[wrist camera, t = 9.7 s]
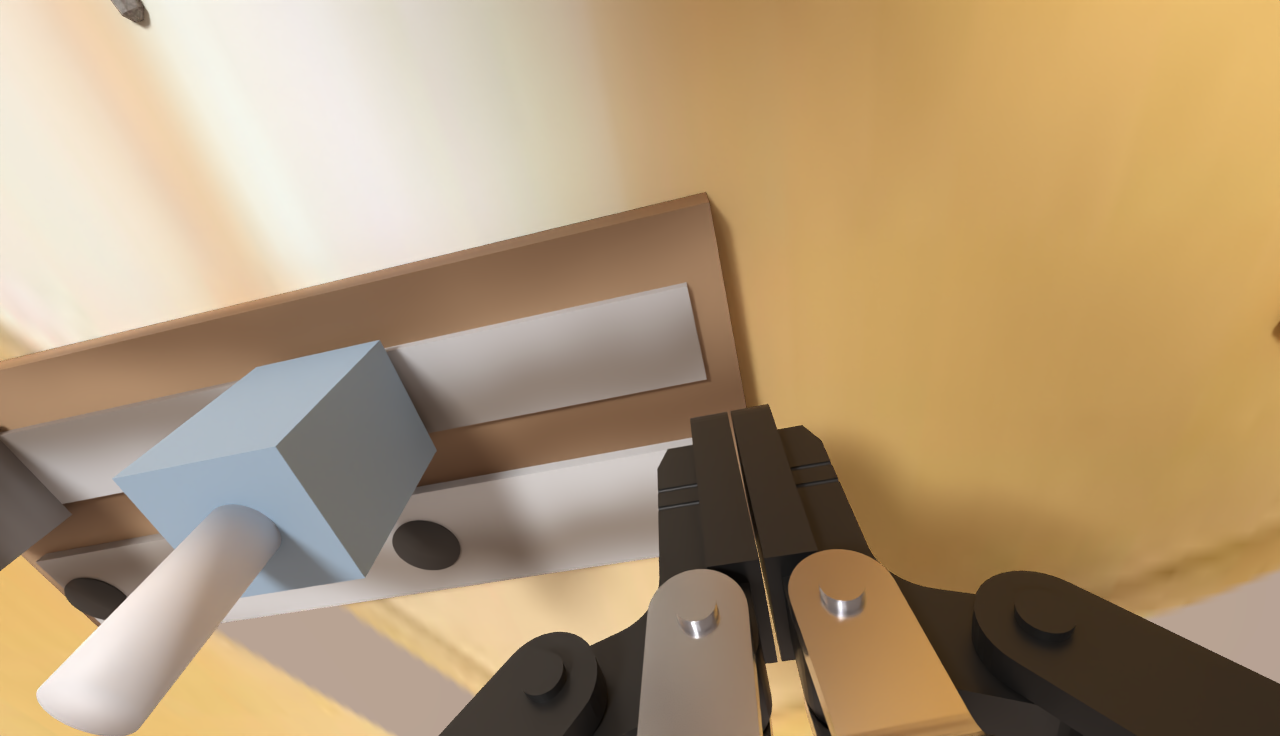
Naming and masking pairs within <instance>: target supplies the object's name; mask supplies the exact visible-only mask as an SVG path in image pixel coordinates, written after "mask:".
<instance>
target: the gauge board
mask: <svg viewBox="0 0 1280 736" xmlns="http://www.w3.org/2000/svg"><path fill="white" fill-rule="evenodd" d="M377 340H380V341H381V343H382V345H383V347H384V349H385V351H386V353H387V355H388V356H389V358H390V360H391V362H392V364H393V366H394V368H395V370H396V372H397V374H398V376H399V378H400V380H401V382H402V384H403V386H404V388H405V389H406V391H407V393H408V395H409V397H410V399H411V401H412V403H413V405H414V407H415V409H416V411H417V413H418V415H419V417H420V419H421V421H422V423H423V424H424V426H425V428H426V430H427V432H428V434H429V436H430V438H431V440H432V442H433V444H434V446H435V448H436V450H437V451H436V453H435V454H434V456H433V458H432V460H431V462H430V463H429V465H428V467H427V469H426V471H425V472H424V474H423V476H422V478H421V479H420V481H419V483H418V485H417V487H416V488H415V490H414V492H413V494H412V495H411V497H410V499H409V501H408V503H407V504H406V506H405V508H404V510H403V512H402V513H401V515H400V517H399V519H398V520H397V522H396V524H395V526H394V528H393V529H392V531H391V533H390V535H389V537H388V538H387V540H386V542H385V544H384V545H383V547H382V549H381V551H380V553H379V554H378V556H377V558H376V560H375V561H374V563H373V565H372V567H371V569H370V570H369V572H368V574H367V576H366V578H363V579H357V580H350V581H344V582H338V583H331V584H325V585H319V586H312V587H306V588H300V589H293V590H287V591H281V592H274V593H268V594H262V595H255V596H249V597H243V598H239V600H238V601H237V602H236V604H235V605H234V606H233V607H232V609H231V610H230V611H229V613H228V614H227V615H226V617H225V618H224V619H223V620H222V622H221V623H225V622H232V621H238V620H245V619H252V618H258V617H264V616H271V615H278V614H284V613H292V612H298V611H305V610H311V609H318V608H325V607H331V606H338V605H344V604H351V603H358V602H364V601H371V600H377V599H384V598H391V597H397V596H404V595H410V594H417V593H424V592H430V591H437V590H443V589H450V588H457V587H463V586H470V585H476V584H483V583H490V582H496V581H503V580H509V579H516V578H523V577H529V576H536V575H542V574H549V573H556V572H562V571H569V570H575V569H582V568H589V567H595V566H602V565H608V564H615V563H622V562H628V561H635V560H641V559H648V558H655V557H659V528H658V511H659V509H658V479H657V468H658V466H659V465H660V463H661V461H662V459H663V457H664V455H665V453H666V451H667V449H671V448H676V447H682V446H688V445H693V442H692V433H691V424H690V418H695V417H700V416H706V415H711V414H717V413H722V412H727V413H728V418H729V423H730V427H731V432H732V436H733V441H734V446H735V450H736V455H737V460H738V464H739V469H740V473H741V467H740V462H739V456H738V451H737V446H736V440H735V435H734V429H733V424H732V418H731V412H730V411H733V410H738V409H744V408H746V403H745V398H744V392H743V386H742V381H741V375H740V370H739V364H738V359H737V353H736V348H735V342H734V337H733V331H732V325H731V320H730V314H729V309H728V303H727V298H726V292H725V287H724V281H723V276H722V270H721V264H720V259H719V253H718V248H717V242H716V237H715V231H714V226H713V220H712V214H711V209H710V203H709V200H708V197H707V194H706V192H704V193H700V194H696V195H692V196H688V197H684V198H679V199H675V200H671V201H667V202H663V203H659V204H654V205H650V206H646V207H642V208H638V209H634V210H629V211H625V212H621V213H617V214H613V215H609V216H604V217H600V218H596V219H592V220H588V221H584V222H579V223H575V224H571V225H567V226H563V227H559V228H554V229H550V230H546V231H542V232H538V233H534V234H529V235H525V236H521V237H517V238H513V239H508V240H504V241H500V242H496V243H492V244H488V245H483V246H479V247H475V248H471V249H467V250H463V251H458V252H454V253H450V254H446V255H442V256H438V257H433V258H429V259H425V260H421V261H417V262H413V263H408V264H404V265H400V266H396V267H392V268H388V269H383V270H379V271H375V272H371V273H367V274H363V275H358V276H354V277H350V278H346V279H342V280H338V281H333V282H329V283H325V284H321V285H317V286H313V287H308V288H304V289H300V290H296V291H292V292H287V293H283V294H279V295H275V296H271V297H267V298H262V299H258V300H254V301H250V302H246V303H242V304H237V305H233V306H229V307H225V308H221V309H217V310H212V311H208V312H204V313H200V314H196V315H192V316H187V317H183V318H179V319H175V320H171V321H167V322H162V323H158V324H154V325H150V326H146V327H142V328H137V329H133V330H129V331H125V332H121V333H117V334H112V335H108V336H104V337H100V338H96V339H92V340H87V341H83V342H79V343H75V344H71V345H67V346H62V347H58V348H54V349H50V350H46V351H41V352H37V353H33V354H29V355H25V356H21V357H16V358H12V359H8V360H4V361H0V571H1V570H2V569H3V568H5V567H6V566H7V565H8V564H10V563H11V562H12V561H13V560H15V559H16V558H17V557H19V556H20V555H22V556H23V557H24V558H25V559H26V560H27V561H28V562H29V563H30V564H31V565H32V566H33V567H35V568H36V569H37V570H38V571H39V572H40V573H41V574H42V575H43V576H44V577H45V578H46V579H47V580H48V581H50V582H51V583H52V584H53V585H54V586H55V587H56V588H57V589H58V590H59V591H60V592H61V593H62V594H63V595H65V596H66V598H67V600H68V601H69V602H70V603H71V604H72V605H73V606H74V607H75V608H77V609H78V610H80V611H81V612H83V613H84V614H85V615H86V616H87V617H88V618H89V619H90V620H91V621H92V622H93V623H94V624H96V625H97V626H98V627H99V626H100V625H101V624H102V623H103V622H104V621H105V620H106V619H107V618H108V617H109V616H110V615H111V614H112V613H113V612H114V611H115V610H116V609H117V608H118V607H119V606H120V605H121V604H122V603H123V602H124V601H125V600H126V599H127V597H128V596H129V595H130V594H131V593H132V592H133V591H134V590H135V589H136V588H137V587H138V586H139V585H140V584H141V583H142V582H143V581H144V580H145V579H146V578H147V577H148V576H149V575H150V574H151V573H152V572H153V571H154V570H155V569H156V568H157V567H158V566H159V565H160V564H161V563H162V562H163V561H164V560H165V559H166V558H167V557H168V556H169V555H170V554H171V553H172V552H173V551H174V548H173V547H172V546H171V545H170V544H169V543H168V542H167V541H166V539H165V538H164V537H163V536H162V535H161V534H160V533H159V532H158V530H157V529H156V528H155V527H154V526H153V525H152V524H151V522H150V521H149V520H148V519H147V518H146V517H145V516H144V515H143V513H142V512H141V511H140V510H139V509H138V508H137V507H136V505H135V504H134V503H133V502H132V501H131V500H130V499H129V498H128V496H127V495H126V494H125V493H124V492H123V491H122V490H121V488H120V487H119V486H118V485H117V484H116V483H115V482H114V481H113V479H112V478H114V477H115V476H116V475H117V474H119V473H120V472H121V471H123V470H124V469H125V468H127V467H128V466H129V465H130V464H132V463H133V462H134V461H136V460H137V459H138V458H139V457H141V456H142V455H143V454H145V453H146V452H147V451H149V450H150V449H151V448H152V447H154V446H155V445H156V444H158V443H159V442H160V441H161V440H163V439H164V438H165V437H167V436H168V435H169V434H171V433H172V432H173V431H174V430H176V429H177V428H178V427H180V426H181V425H182V424H183V423H185V422H186V421H187V420H189V419H190V418H191V417H193V416H194V415H195V414H196V413H198V412H199V411H200V410H202V409H203V408H204V407H205V406H207V405H208V404H209V403H211V402H212V401H213V400H215V399H216V398H217V397H218V396H220V395H221V394H222V393H224V392H225V391H226V390H227V389H229V388H230V387H231V386H233V385H234V384H235V383H236V382H238V381H239V380H240V379H242V378H243V377H244V376H246V375H247V374H248V373H249V372H251V371H252V370H253V369H255V368H256V367H259V366H264V365H268V364H273V363H277V362H282V361H286V360H291V359H295V358H300V357H304V356H309V355H314V354H318V353H323V352H327V351H332V350H336V349H341V348H345V347H350V346H354V345H359V344H363V343H368V342H372V341H377ZM741 478H742V473H741ZM742 483H743V478H742ZM743 487H744V483H743ZM744 492H745V488H744ZM745 497H746V493H745ZM746 501H747V498H746ZM747 506H748V503H747ZM748 510H749V508H748ZM749 515H750V512H749ZM750 520H751V517H750ZM751 524H752V521H751ZM752 529H753V526H752ZM753 534H754V531H753ZM754 538H755V535H754Z"/></svg>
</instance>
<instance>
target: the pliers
mask: <svg viewBox="0 0 1280 736" xmlns="http://www.w3.org/2000/svg"><path fill="white" fill-rule="evenodd" d="M111 1H112V3H113V4H114V5H115V7H116V8H117V9H118V11H119V12H120V13H121V14H122V16H124V17H126V18H128V19H130V20H132V21H135V22H139V21H141V20H143V19H144V7H143V5H142V4H141V2H140V0H111Z"/></svg>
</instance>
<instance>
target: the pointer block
mask: <svg viewBox="0 0 1280 736" xmlns="http://www.w3.org/2000/svg"><path fill="white" fill-rule="evenodd" d="M436 451H437V450H436V448H435V446H434V444H433V442H432V440H431V438H430V436H429V434H428V432H427V430H426V428H425V426H424V424H423V423H422V421H421V419H420V417H419V415H418V413H417V411H416V409H415V407H414V405H413V403H412V401H411V399H410V397H409V395H408V393H407V391H406V389H405V388H404V386H403V384H402V382H401V380H400V378H399V376H398V374H397V372H396V370H395V368H394V366H393V364H392V362H391V360H390V358H389V356H388V355H387V353H386V351H385V349H384V347H383V345H382V343H381V341H380V340H377V341H372V342H368V343H363V344H359V345H354V346H350V347H345V348H341V349H336V350H332V351H327V352H323V353H318V354H314V355H309V356H304V357H300V358H295V359H291V360H286V361H282V362H277V363H273V364H268V365H264V366H259V367H256V368H255V369H253V370H252V371H251V372H249V373H248V374H247V375H246V376H244V377H243V378H242V379H240V380H239V381H238V382H236V383H235V384H234V385H233V386H231V387H230V388H229V389H227V390H226V391H225V392H224V393H222V394H221V395H220V396H218V397H217V398H216V399H215V400H213V401H212V402H211V403H209V404H208V405H207V406H205V407H204V408H203V409H202V410H200V411H199V412H198V413H196V414H195V415H194V416H193V417H191V418H190V419H189V420H187V421H186V422H185V423H183V424H182V425H181V426H180V427H178V428H177V429H176V430H174V431H173V432H172V433H171V434H169V435H168V436H167V437H165V438H164V439H163V440H161V441H160V442H159V443H158V444H156V445H155V446H154V447H152V448H151V449H150V450H149V451H147V452H146V453H145V454H143V455H142V456H141V457H139V458H138V459H137V460H136V461H134V462H133V463H132V464H130V465H129V466H128V467H127V468H125V469H124V470H123V471H121V472H120V473H119V474H117V475H116V476H115V477H114V478H112V479H113V481H114V482H115V483H116V484H117V485H118V486H119V487H120V488H121V490H122V491H123V492H124V493H125V494H126V495H127V496H128V498H129V499H130V500H131V501H132V502H133V503H134V504H135V505H136V507H137V508H138V509H139V510H140V511H141V512H142V513H143V515H144V516H145V517H146V518H147V519H148V520H149V521H150V522H151V524H152V525H153V526H154V527H155V528H156V529H157V530H158V532H159V533H160V534H161V535H162V536H163V537H164V538H165V539H166V541H167V542H168V543H169V544H170V545H171V546H172V547H173V548H174V551H173V552H172V553H171V554H170V555H169V556H168V557H167V558H166V559H165V560H164V561H163V562H162V563H161V564H160V565H159V566H158V567H157V568H156V569H155V570H154V571H153V572H152V573H151V574H150V575H149V576H148V577H147V578H146V579H145V580H144V581H143V582H142V583H141V584H140V585H139V586H138V587H137V588H136V589H135V590H134V591H133V592H132V593H131V594H130V595H129V596H128V597H127V599H126V600H125V601H124V602H123V603H122V604H121V605H120V606H119V607H118V608H117V609H116V610H115V611H114V612H113V613H112V614H111V615H110V616H109V617H108V618H107V619H106V620H105V621H104V622H103V623H102V624H101V625H100V626H99V627H98V628H97V629H96V630H95V631H94V632H93V633H92V634H91V635H90V636H89V637H88V638H87V639H86V640H85V641H84V642H83V643H82V644H81V645H80V646H79V647H78V648H77V650H76V651H75V652H74V653H73V654H72V655H71V656H70V657H69V658H68V659H67V660H66V661H65V662H64V663H63V664H62V665H61V666H60V667H59V668H58V669H57V670H56V671H55V672H54V673H53V674H52V675H51V676H50V677H49V678H48V679H47V680H46V681H45V682H44V683H43V684H42V685H41V686H40V687H39V689H38V690H37V700H38V702H39V704H40V705H41V707H42V708H43V709H44V710H45V711H46V712H47V713H48V714H50V715H51V716H52V717H54V718H55V719H57V720H59V721H60V722H62V723H64V724H66V725H68V726H70V727H73V728H75V729H78V730H81V731H84V732H87V733H91V734H96V735H102V736H124V735H129V734H132V733H134V732H136V731H137V730H138V729H139V728H140V727H141V725H142V724H143V723H144V721H145V720H146V719H147V718H148V716H149V715H150V714H151V712H152V711H153V710H154V709H155V707H156V706H157V705H158V703H159V702H160V701H161V699H162V698H163V697H164V696H165V694H166V693H167V692H168V690H169V689H170V688H171V686H172V685H173V684H174V683H175V681H176V680H177V679H178V677H179V676H180V675H181V674H182V672H183V671H184V670H185V668H186V667H187V666H188V664H189V663H190V662H191V661H192V659H193V658H194V657H195V655H196V654H197V653H198V652H199V650H200V649H201V648H202V646H203V645H204V644H205V642H206V641H207V640H208V639H209V637H210V636H211V635H212V633H213V632H214V631H215V629H216V628H217V627H218V626H219V624H220V623H221V622H222V620H223V619H224V618H225V617H226V615H227V614H228V613H229V611H230V610H231V609H232V607H233V606H234V605H235V604H236V602H237V601H238V600H239V598H243V597H249V596H255V595H262V594H268V593H274V592H281V591H287V590H293V589H300V588H306V587H312V586H319V585H325V584H331V583H338V582H344V581H350V580H357V579H363V578H366V576H367V574H368V572H369V570H370V569H371V567H372V565H373V563H374V561H375V560H376V558H377V556H378V554H379V553H380V551H381V549H382V547H383V545H384V544H385V542H386V540H387V538H388V537H389V535H390V533H391V531H392V529H393V528H394V526H395V524H396V522H397V520H398V519H399V517H400V515H401V513H402V512H403V510H404V508H405V506H406V504H407V503H408V501H409V499H410V497H411V495H412V494H413V492H414V490H415V488H416V487H417V485H418V483H419V481H420V479H421V478H422V476H423V474H424V472H425V471H426V469H427V467H428V465H429V463H430V462H431V460H432V458H433V456H434V454H435V453H436Z"/></svg>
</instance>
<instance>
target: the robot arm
mask: <svg viewBox="0 0 1280 736" xmlns="http://www.w3.org/2000/svg"><path fill="white" fill-rule="evenodd" d="M730 412H731V418H732V424H733V429H734V435H735V440H736V446H737V451H738V456H739V462H740V467H741V473H742V478H743V483H744V487H743V483H742V478H741V473H740V469H739V464H738V460H737V455H736V450H735V446H734V441H733V436H732V432H731V427H730V423H729V418H728V413H727V412H722V413H717V414H711V415H706V416H700V417H695V418H690V424H691V433H692V442H693V445H688V446H682V447H676V448H671V449H667V451H666V453H665V455H664V457H663V459H662V461H661V463H660V465H659V466H658V468H657V479H658V509H659V511H658V528H659V576H660V578H659V587H658V590H657V591H656V592H655V594H654V596H653V598H652V599H651V602H650V605H649V608H648V610H647V611H646V613H645V614H644V615H643V616H642V617H641V618H640V619H639V620H638V621H637V622H635V623H634V624H633V625H631V626H630V627H628V628H626V629H625V630H623V631H621V632H619V633H617V634H615V635H612V636H610V637H608V638H606V639H604V640H602V641H600V642H597V643H595V644H593V645H591V646H589V644H588V643H587V642H586V641H585V640H583V639H582V638H581V637H579V636H577V635H575V634H571V633H568V632H553V633H548V634H544V635H541V636H539V637H536V638H534V639H533V640H531V641H529V642H527V643H526V644H525V645H523V646H522V647H521V648H519V649H518V650H517V651H516V652H515V653H514V654H513V655H512V656H511V657H510V658H509V659H508V661H507V662H506V663H505V664H504V665H503V666H502V667H501V668H500V669H499V670H498V671H497V673H496V674H495V675H494V676H493V677H492V678H491V679H490V680H489V681H488V682H487V683H486V685H485V686H484V687H483V688H482V689H481V690H480V691H479V692H478V693H477V694H476V696H475V697H474V698H473V699H472V700H471V701H470V702H469V703H468V704H467V705H466V706H465V708H464V709H463V710H462V711H461V712H460V713H459V714H458V715H457V716H456V717H455V718H454V720H453V721H452V722H451V723H450V724H449V725H448V726H447V727H446V728H445V729H444V731H443V732H442V733H441V734H440V735H439V736H773V730H772V721H771V712H772V698H771V692H770V687H769V681H768V676H767V671H766V665H765V664H766V663H774V662H778V661H777V656H776V650H775V645H774V639H773V634H772V628H771V623H770V617H769V612H768V606H767V601H766V595H765V589H764V584H763V578H762V573H761V567H762V572H763V577H764V581H765V586H766V590H767V595H768V600H769V604H770V609H771V613H772V618H773V623H774V627H775V632H776V636H777V641H778V646H779V650H780V655H781V659H782V661H788V660H796V663H797V667H798V671H799V675H800V680H801V684H802V688H803V693H804V700H805V707H806V712H807V716H808V719H809V723H810V726H811V729H812V732H813V735H814V736H1280V684H1279V683H1276V682H1275V681H1273V680H1271V679H1269V678H1266V677H1264V676H1262V675H1260V674H1258V673H1256V672H1254V671H1252V670H1250V669H1248V668H1246V667H1244V666H1242V665H1239V664H1237V663H1235V662H1233V661H1231V660H1229V659H1227V658H1225V657H1223V656H1221V655H1219V654H1217V653H1214V652H1212V651H1210V650H1208V649H1206V648H1204V647H1202V646H1200V645H1198V644H1195V643H1194V642H1191V641H1190V640H1187V639H1185V638H1183V637H1181V636H1179V635H1177V634H1175V633H1173V632H1171V631H1169V630H1167V629H1165V628H1163V627H1160V626H1158V625H1156V624H1154V623H1152V622H1150V621H1148V620H1146V619H1144V618H1142V617H1140V616H1138V615H1136V614H1133V613H1131V612H1129V611H1127V610H1125V609H1123V608H1121V607H1119V606H1117V605H1115V604H1113V603H1111V602H1109V601H1106V600H1104V599H1102V598H1100V597H1098V596H1096V595H1094V594H1092V593H1090V592H1088V591H1086V590H1084V589H1082V588H1079V587H1077V586H1075V585H1073V584H1071V583H1069V582H1067V581H1064V580H1062V579H1060V578H1057V577H1054V576H1050V575H1047V574H1043V573H1038V572H1031V571H1011V572H1005V573H1001V574H998V575H995V576H993V577H991V578H990V579H988V580H986V581H985V582H984V583H983V584H982V585H981V586H980V588H979V589H978V591H977V592H976V594H969V593H962V592H955V591H947V590H940V589H933V588H928V587H923V586H920V585H916V584H913V583H910V582H908V581H906V580H903V579H901V578H900V577H898V576H896V575H894V574H892V573H891V572H890V571H888V570H887V569H886V568H885V567H884V566H882V565H881V564H880V563H879V562H878V561H877V560H876V558H875V557H874V556H873V555H872V553H871V551H870V549H869V548H868V545H867V543H866V541H865V539H864V536H863V534H862V532H861V530H860V527H859V525H858V523H857V520H856V518H855V516H854V514H853V511H852V509H851V507H850V505H849V502H848V500H847V498H846V495H845V493H844V491H843V489H842V486H841V484H840V482H838V477H837V475H836V473H835V470H834V468H833V466H832V465H831V463H830V459H829V457H828V455H827V452H826V450H825V448H824V445H823V443H822V441H821V440H820V439H819V438H818V437H816V436H815V435H814V434H813V433H811V432H810V431H809V430H808V429H806V428H805V427H804V426H803V425H801V426H795V427H790V428H784V429H778V430H777V428H776V425H775V422H774V419H773V416H772V413H771V410H770V407H769V405H768V404H766V405H760V406H755V407H749V408H744V409H738V410H733V411H730ZM744 488H745V492H744ZM745 493H746V497H745ZM746 498H747V501H746ZM747 503H748V506H747ZM748 508H749V510H748ZM749 512H750V515H749ZM750 517H751V520H750ZM751 521H752V524H751ZM752 526H753V529H752ZM753 531H754V534H753ZM754 535H755V538H754ZM755 540H756V543H755ZM756 544H757V547H756ZM757 549H758V552H757ZM758 554H759V557H758ZM759 558H760V562H759ZM760 563H761V567H760Z"/></svg>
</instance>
